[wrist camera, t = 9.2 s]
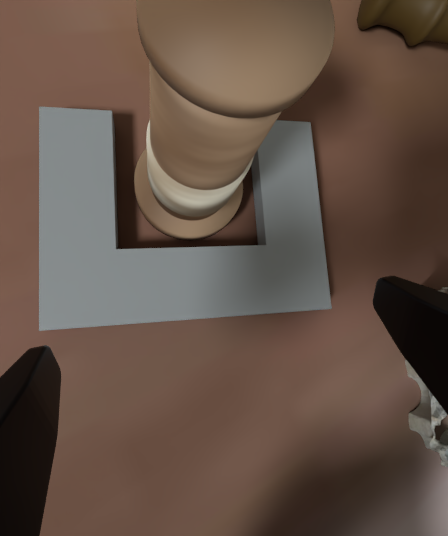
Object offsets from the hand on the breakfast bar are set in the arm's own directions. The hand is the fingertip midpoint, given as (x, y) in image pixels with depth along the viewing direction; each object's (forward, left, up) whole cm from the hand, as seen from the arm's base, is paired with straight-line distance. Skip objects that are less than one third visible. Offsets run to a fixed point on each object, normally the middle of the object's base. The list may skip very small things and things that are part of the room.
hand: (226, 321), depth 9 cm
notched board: (+3, -5, -11) cm, 13 cm away
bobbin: (+4, -7, -11) cm, 14 cm away
